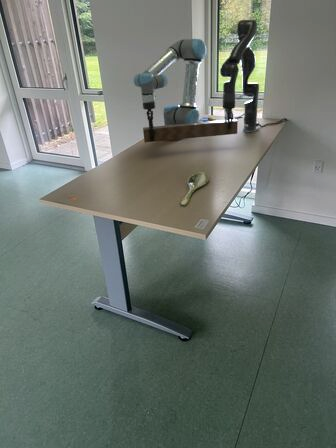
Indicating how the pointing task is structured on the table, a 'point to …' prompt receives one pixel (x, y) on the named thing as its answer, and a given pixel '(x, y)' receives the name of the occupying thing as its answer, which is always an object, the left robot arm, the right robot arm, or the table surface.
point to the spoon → (195, 184)
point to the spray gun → (207, 119)
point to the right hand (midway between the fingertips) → (228, 127)
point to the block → (190, 130)
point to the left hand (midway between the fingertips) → (152, 139)
